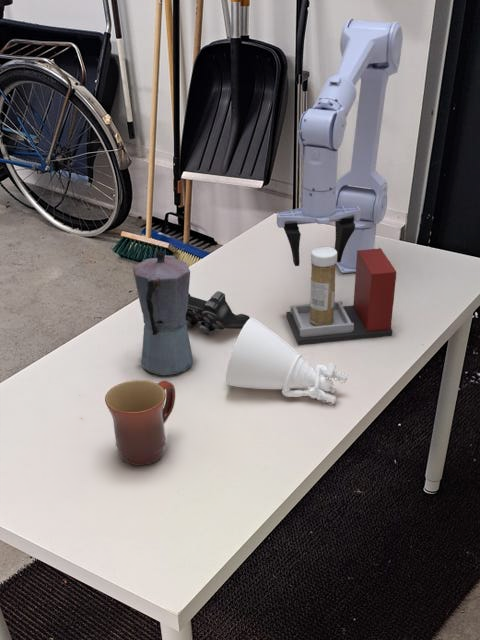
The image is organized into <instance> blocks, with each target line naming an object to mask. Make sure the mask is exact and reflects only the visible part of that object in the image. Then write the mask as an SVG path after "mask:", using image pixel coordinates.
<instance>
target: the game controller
mask: <svg viewBox="0 0 480 640" xmlns="http://www.w3.org/2000/svg"><path fill="white" fill-rule="evenodd" d="M250 318H251V316H250V315H247V314H244V313H239V314H235V313H233V311H232V309H231V307H230V305H229V304H228V301H227V300H226V294H225V293H223V291H218V290H217V291H215V292H214V293H213V294H212V295H211V296H210V298H209V299H208V300H205V299H201V298H199V297H195V296H193V295H191V294H190V293H189V294H188V309H187V313H186V321H185V322H186V324H187V329H188V330H189V329H190V330H191V329H192V328H193V327H196V326H198V324H200V325H199V330H200V332H201V333H203V334H205V335H210V334H211V333H213V332H215V331H216V330H218V331H224V330H240V329H241V330H242V328H243V326H244V325H245V323H246V322H247V321H248V320H249V319H250Z"/></svg>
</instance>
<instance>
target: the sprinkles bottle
mask: <svg viewBox="0 0 480 640" xmlns="http://www.w3.org/2000/svg"><path fill="white" fill-rule="evenodd" d="M310 263H311V270H310V271H311V273H310V274H311V275H310V294H309V295H310V297H309V299H310V300H309V304H310V319H309V320H310V323H311V324H313V325H315V326H325V325H331V324H332V323H333V321H334V317H333V315H334V302H335V300H336V299H335V298H336V297H335V296H336V269H337V268H336V267H337V264H336V263H337V251H336V250H335V247H330V246H318V247H314V248H313V249H312V250H311V252H310Z"/></svg>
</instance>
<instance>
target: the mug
mask: <svg viewBox="0 0 480 640" xmlns="http://www.w3.org/2000/svg"><path fill="white" fill-rule="evenodd" d="M175 401H176V388H175V385H174V384H173V383H172V382H171V381H167V380H161V381H159V382H154V381H151V380H143V379H142V380H141V379H135V380H128V381H124V382H121V383H118V384H116V385H114V386H113V387H111V388H110V389H109V390H108V391H107V392H106V393H105V396H104V402H105V405H106V407H107V409H108V411H109V412H110V415H111V417H112V421H113V429H114V430H113V431H114V439H115V446H116V449H117V452H118V454H119V457H120V459H122V460H123V461H124V462H126V463H128V464H131V465H136V466H144V465H145V466H146V465H150V464H152V463H155V462H156V461H158V460H159V459H161V458H162V457H163V456H164V454H165V451H166V445H167V442H166V441H167V437H166V430H165V424H166V422H167V421H168V419H169V417H170V416H171V414H172V413H173V409H174V406H175V403H176V402H175Z"/></svg>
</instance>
